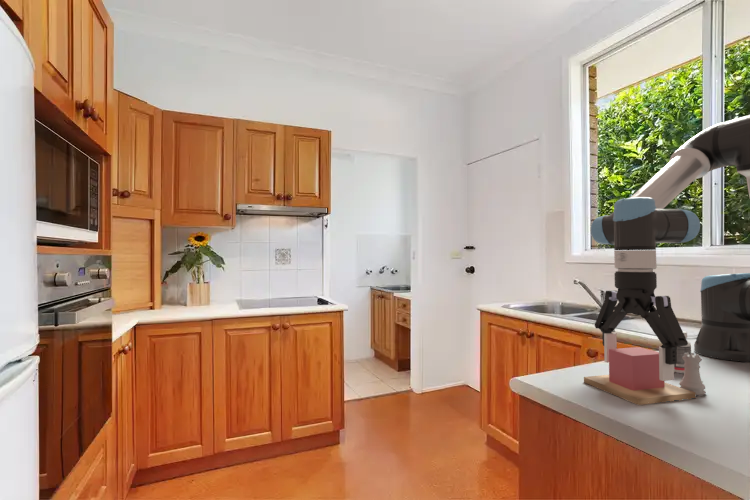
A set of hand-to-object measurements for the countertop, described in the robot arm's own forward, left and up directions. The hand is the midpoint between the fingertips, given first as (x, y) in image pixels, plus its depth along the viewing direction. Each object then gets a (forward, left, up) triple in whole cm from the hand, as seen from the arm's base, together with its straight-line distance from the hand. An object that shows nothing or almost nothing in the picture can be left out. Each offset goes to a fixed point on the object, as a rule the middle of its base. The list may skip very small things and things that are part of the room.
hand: (636, 370), depth 85 cm
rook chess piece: (-10, +4, -4) cm, 12 cm away
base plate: (0, 0, -4) cm, 4 cm away
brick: (0, 0, -3) cm, 3 cm away
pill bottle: (-22, -9, -4) cm, 24 cm away
